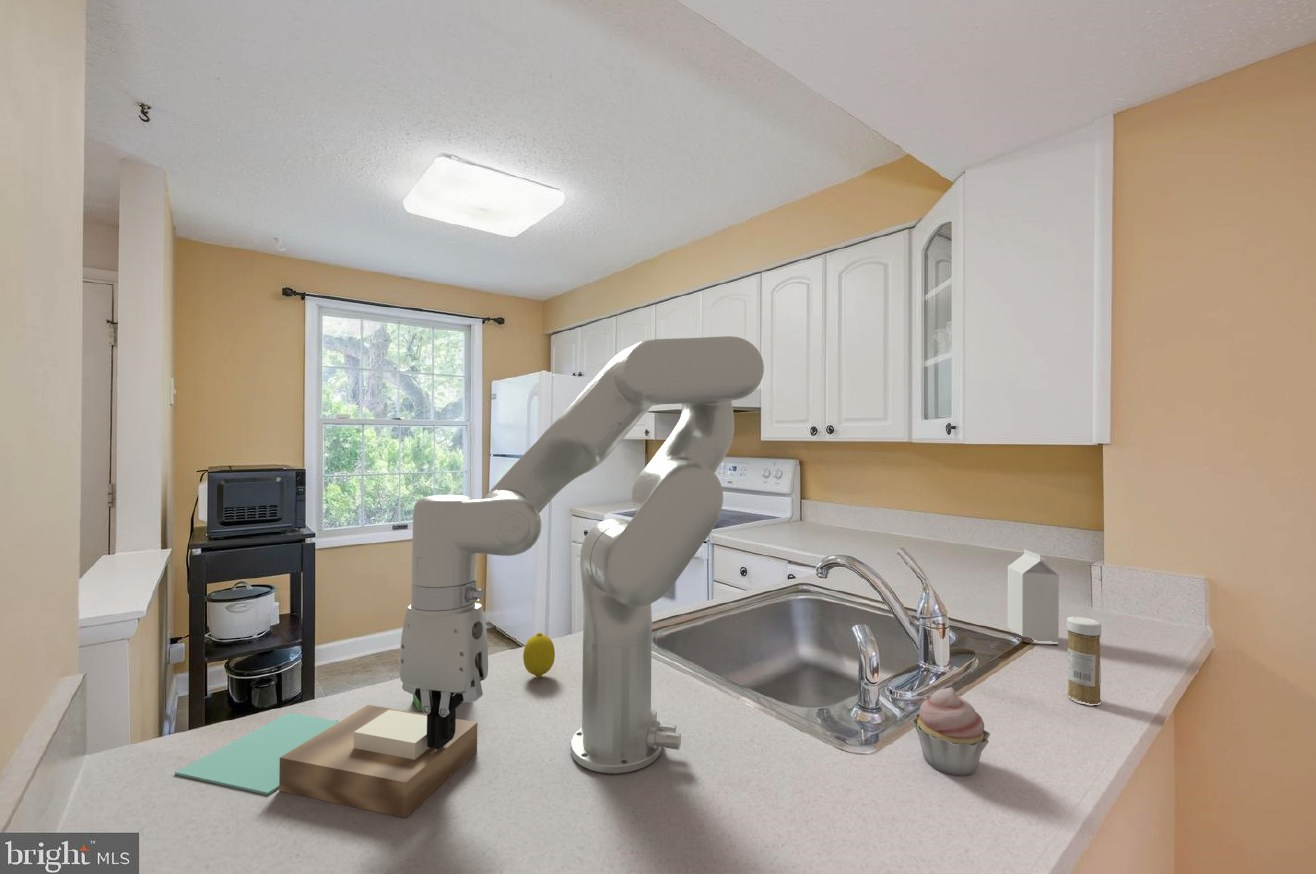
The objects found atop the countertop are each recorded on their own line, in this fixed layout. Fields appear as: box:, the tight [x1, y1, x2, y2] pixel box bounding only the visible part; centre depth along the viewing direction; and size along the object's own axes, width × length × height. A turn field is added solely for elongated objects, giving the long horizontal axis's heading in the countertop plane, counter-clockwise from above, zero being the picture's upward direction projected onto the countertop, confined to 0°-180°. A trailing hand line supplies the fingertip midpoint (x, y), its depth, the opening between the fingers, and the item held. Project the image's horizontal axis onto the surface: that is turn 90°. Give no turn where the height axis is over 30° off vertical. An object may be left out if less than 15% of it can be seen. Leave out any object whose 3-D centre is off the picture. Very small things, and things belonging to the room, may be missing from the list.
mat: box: [174, 712, 341, 796], centre depth 76 cm, size 15×16×1 cm
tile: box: [354, 710, 429, 760], centre depth 71 cm, size 9×6×2 cm, turn 75°
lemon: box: [522, 632, 556, 679], centre depth 100 cm, size 6×6×8 cm
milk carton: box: [1006, 548, 1060, 642], centre depth 122 cm, size 7×7×19 cm
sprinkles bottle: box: [1066, 616, 1102, 704], centre depth 93 cm, size 5×5×14 cm
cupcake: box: [911, 686, 991, 777], centre depth 75 cm, size 9×9×10 cm
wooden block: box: [278, 704, 478, 819], centre depth 72 cm, size 18×14×4 cm
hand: (440, 742), depth 70 cm, fingers closed
